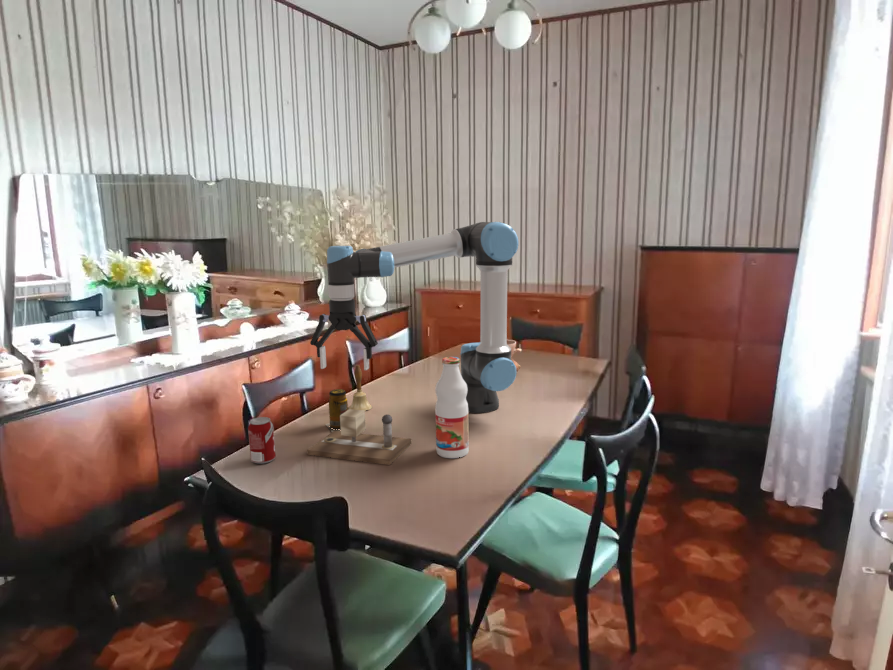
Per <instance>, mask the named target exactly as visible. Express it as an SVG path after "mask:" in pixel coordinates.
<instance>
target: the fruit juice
mask: <svg viewBox="0 0 893 670" xmlns="http://www.w3.org/2000/svg"><path fill="white" fill-rule="evenodd" d="M441 363H442V366H443V367H442V372H441V375H440V378H439V379H438V380H437V383H436V385H435V390H434V391H435V395H436V399H437V400H436V403H435V410H434V411H435V412H434V413H435V447H436V453H437V455H439V456H440V457H441V458H445V459H459V457H460V458H462V457H465V456H467V455H468V454H469V450H470V448H469V447H470V444H469V443H470V441H469V439H470V438H469V436H470V435H469V427H470V425H469V412H468V403H467V401H466V396H467V391H468V389H467V384H466V382H465V381H464V380H463V378H462V376H461V369H460V367H459V366H460V365H461V358H459V357H457V356H446V357H443V358H442V359H441Z"/></svg>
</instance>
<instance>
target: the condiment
mask: <svg viewBox="0 0 893 670" xmlns="http://www.w3.org/2000/svg"><path fill="white" fill-rule="evenodd" d="M346 393H347V392H346V390H345V389H342V388H341V389H340V388H338V389H337V388H336V389H332V390H330V391H329V394H328V395H329V399H328V412H329V413H328V415H329V423H325V426H326V427H327V428H328V429H329V431H331V433H332V432H333V431H340V430H341V426H340V415H342V414H343V413H345V412H346V411H347V410H349V404H348V398H347V395H346ZM328 426H330V427H328ZM331 428H333V429H335V430H333V429H331ZM336 429H337V430H336ZM338 429H340V430H338Z"/></svg>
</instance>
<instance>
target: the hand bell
mask: <svg viewBox="0 0 893 670" xmlns="http://www.w3.org/2000/svg"><path fill="white" fill-rule="evenodd" d="M353 374H354V378H355V379H354V380H355V382H356V392H355V393H353V396H352V401H351V404H349V405H348V410H349V409H354V410H365V412H366V410H368V411H371V410H372V409H373V407H372V405H371V404H370V402H369V401H368V398H367V394H366V392H364V391H363V389H362V378H363V372H362V368H361V366H360V364H356V365H355V369H354V373H353Z"/></svg>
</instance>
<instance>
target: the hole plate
mask: <svg viewBox="0 0 893 670" xmlns="http://www.w3.org/2000/svg"><path fill="white" fill-rule="evenodd" d="M392 422H393V417H392V416H391V415H390V414H384V415H383V416H382V418H381V423H382V431H383V432H382V433H383V435H379V434H371V433H370V434H367V433H361V434H360V435H358V436H357V437H356V442H352V436H344V435H341V431H333V432H332V431H331V432H330V433H329V434H327V435H326V436H325V437H323V438H321V439H320V440H319V441H318V442H316V443H314V444H313V445H312V446H310V447H309V448H308V449H307V451H306V453H307V455H308V456H314V455H315V456H316V457H323V458H330V457H331V459H340V460H347V461H354V460H355V462H362V461H363V463H370V462H371V463H370V464H378V465H386V466H387V465H388V466H390V465H392V462H393V463H394V462H395V460H397V459H396V458H397V457H398V456H399V455H400V454H401V453H402V452H403V451H404V450H405V449H406V448H407V447H408V446H409V445H410V444H411V445H412V438H407V437H406V438H404V437H397V436H393V430H392V428H393V427H392ZM411 445H410V446H411ZM410 446H409V447H410ZM409 447H408V448H409ZM408 448H407V449H408ZM407 449H406V450H407ZM406 450H405V451H406ZM405 451H404V452H405ZM404 452H403V453H404ZM403 453H402V454H403ZM402 454H401V455H402ZM401 455H400V456H401ZM315 456H314V457H315ZM400 456H399V457H400ZM399 457H398V458H399Z"/></svg>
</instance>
